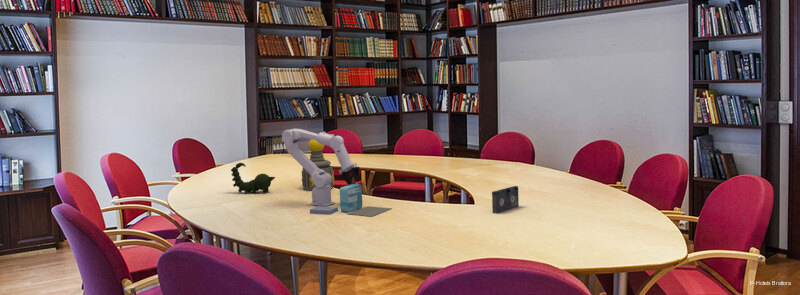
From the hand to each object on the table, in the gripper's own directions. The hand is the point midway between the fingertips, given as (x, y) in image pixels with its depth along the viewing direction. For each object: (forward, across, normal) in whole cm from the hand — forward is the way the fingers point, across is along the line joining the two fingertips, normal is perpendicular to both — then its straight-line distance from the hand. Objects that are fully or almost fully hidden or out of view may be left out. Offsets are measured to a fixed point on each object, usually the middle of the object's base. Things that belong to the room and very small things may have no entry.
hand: (354, 183), depth 314 cm
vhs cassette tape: (+40, -54, -36) cm, 76 cm away
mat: (+15, -13, +7) cm, 21 cm away
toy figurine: (-18, +73, +18) cm, 77 cm away
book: (+7, +2, +22) cm, 23 cm away
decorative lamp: (-5, +58, -13) cm, 60 cm away
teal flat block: (+11, -3, +10) cm, 16 cm away
